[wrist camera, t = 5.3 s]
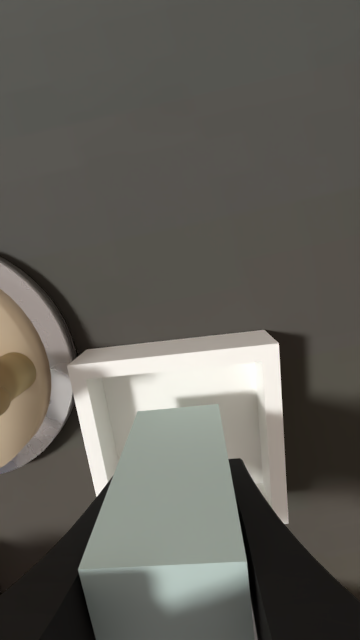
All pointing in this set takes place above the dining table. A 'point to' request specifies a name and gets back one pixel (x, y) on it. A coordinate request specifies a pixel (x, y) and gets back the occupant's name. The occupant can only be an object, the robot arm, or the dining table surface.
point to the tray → (187, 399)
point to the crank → (20, 379)
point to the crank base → (57, 351)
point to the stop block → (169, 536)
